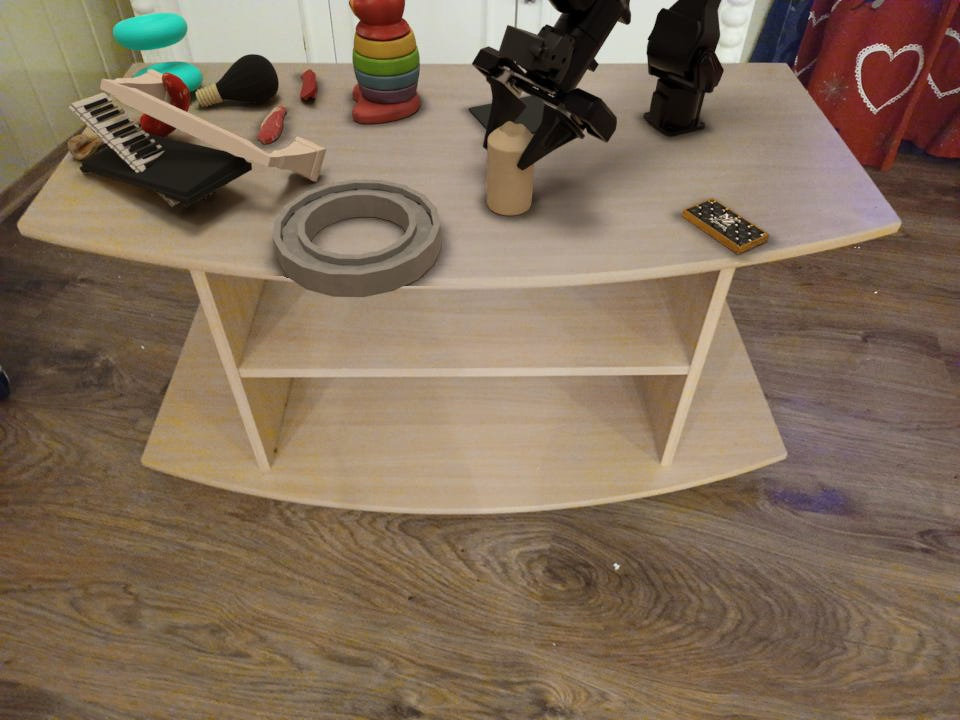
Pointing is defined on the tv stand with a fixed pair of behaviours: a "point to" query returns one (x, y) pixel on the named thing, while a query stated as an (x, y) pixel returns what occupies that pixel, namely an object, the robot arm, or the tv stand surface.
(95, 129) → the synthesizer keyboard
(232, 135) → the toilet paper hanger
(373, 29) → the stacking bear
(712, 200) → the black flat block
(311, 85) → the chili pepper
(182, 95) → the vegetable
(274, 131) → the steak
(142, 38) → the donuts
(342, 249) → the tv stand surface
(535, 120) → the mat
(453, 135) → the tv stand surface
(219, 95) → the light bulb
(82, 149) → the brown bone
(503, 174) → the candle
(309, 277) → the mechanical component
